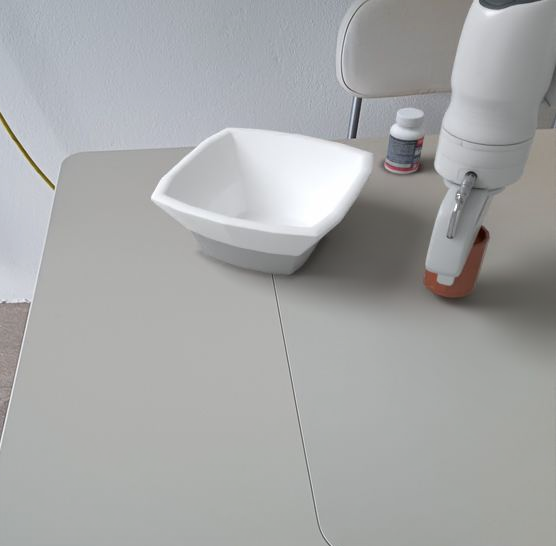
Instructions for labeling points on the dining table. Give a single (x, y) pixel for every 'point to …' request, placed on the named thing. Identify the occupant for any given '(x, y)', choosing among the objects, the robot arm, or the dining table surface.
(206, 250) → the bowl
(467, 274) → the cup
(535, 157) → the dining table surface
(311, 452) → the dining table surface
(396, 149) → the pill bottle
